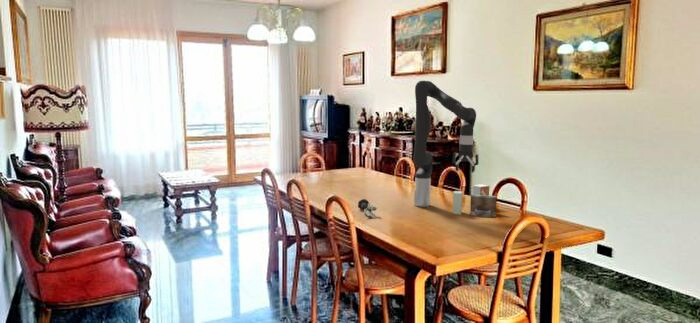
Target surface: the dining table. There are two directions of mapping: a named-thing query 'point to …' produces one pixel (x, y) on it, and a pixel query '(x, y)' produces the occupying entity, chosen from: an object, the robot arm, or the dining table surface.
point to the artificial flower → (365, 204)
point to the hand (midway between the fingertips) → (464, 171)
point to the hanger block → (457, 202)
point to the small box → (480, 190)
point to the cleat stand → (483, 206)
